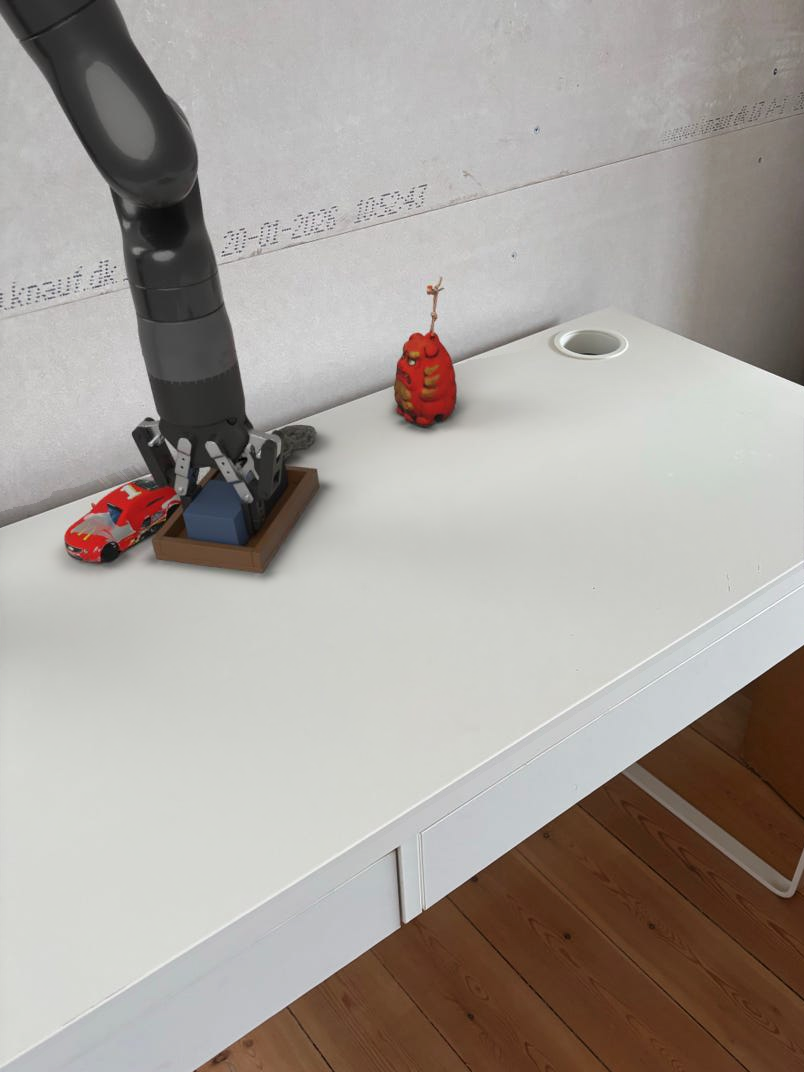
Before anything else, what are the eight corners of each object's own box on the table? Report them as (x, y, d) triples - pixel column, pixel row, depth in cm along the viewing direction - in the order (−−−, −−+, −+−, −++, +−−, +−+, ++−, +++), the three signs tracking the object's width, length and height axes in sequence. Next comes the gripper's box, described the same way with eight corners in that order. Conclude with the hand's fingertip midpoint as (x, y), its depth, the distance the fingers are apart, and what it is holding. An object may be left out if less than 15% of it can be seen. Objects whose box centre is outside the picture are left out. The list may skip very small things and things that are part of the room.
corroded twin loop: (328, 442, 110) (327, 434, 109) (269, 470, 106) (267, 461, 105) (299, 427, 113) (298, 418, 112) (240, 454, 108) (238, 445, 108)
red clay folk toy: (384, 409, 116) (373, 279, 106) (436, 392, 119) (430, 265, 109) (418, 435, 111) (411, 302, 102) (472, 418, 114) (469, 286, 104)
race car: (92, 575, 92) (80, 539, 90) (56, 554, 95) (43, 519, 92) (202, 510, 100) (194, 475, 98) (166, 492, 103) (158, 458, 100)
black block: (218, 512, 99) (212, 481, 97) (243, 480, 103) (237, 450, 101) (266, 518, 98) (260, 487, 96) (288, 485, 103) (284, 455, 100)
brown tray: (156, 559, 94) (151, 539, 93) (223, 475, 105) (219, 457, 104) (262, 573, 92) (259, 553, 91) (319, 487, 103) (317, 468, 102)
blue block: (190, 545, 94) (182, 513, 92) (216, 510, 99) (210, 479, 96) (240, 551, 93) (233, 519, 91) (265, 515, 98) (259, 484, 95)
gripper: (288, 346, 86) (312, 514, 97) (134, 332, 89) (175, 497, 100) (253, 385, 81) (283, 559, 92) (90, 370, 83) (139, 540, 94)
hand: (227, 526), depth 96 cm, fingers closed on blue block, 5 cm apart
